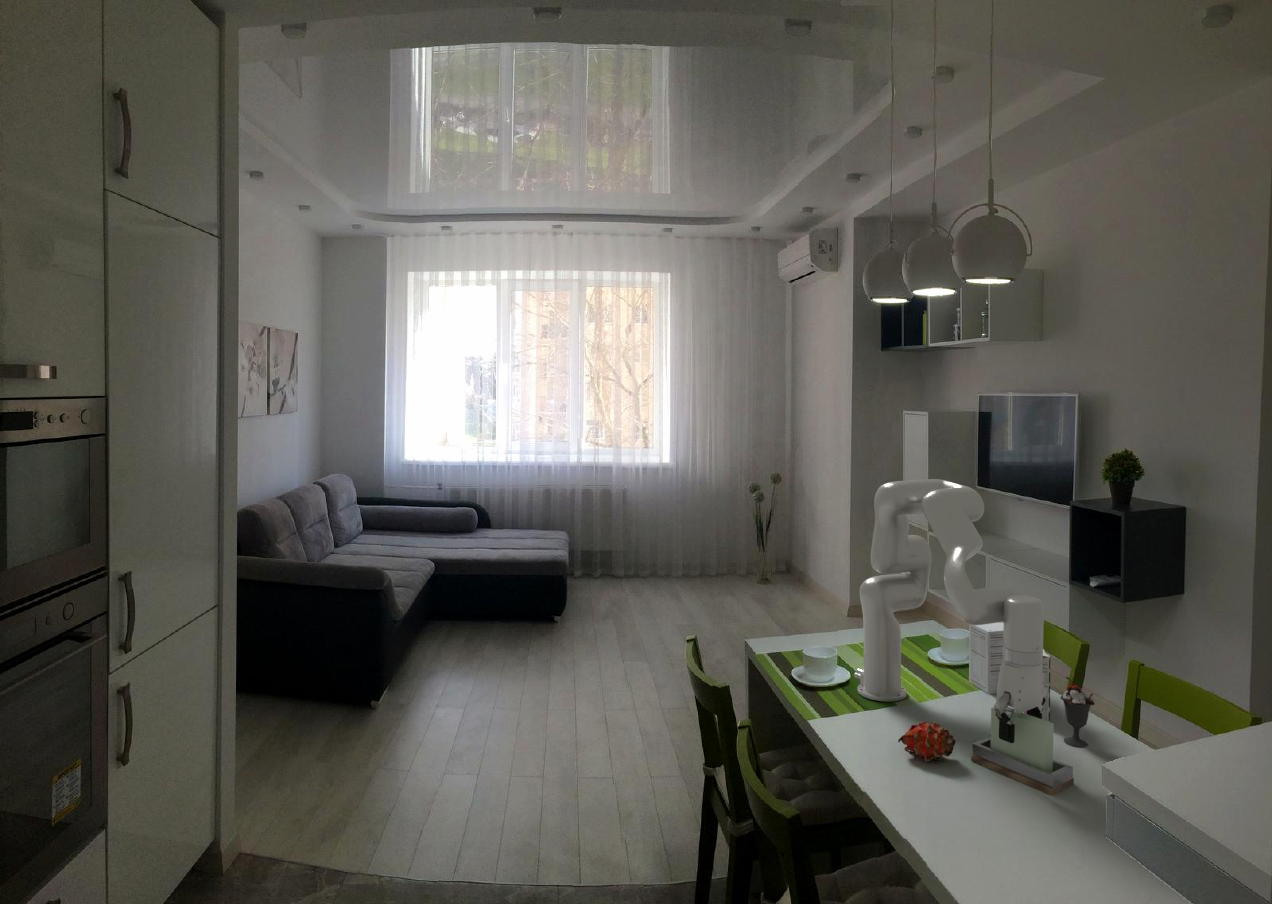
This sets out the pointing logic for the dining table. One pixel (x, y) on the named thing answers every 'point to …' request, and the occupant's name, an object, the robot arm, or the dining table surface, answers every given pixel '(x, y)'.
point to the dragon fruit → (928, 741)
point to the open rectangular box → (1023, 768)
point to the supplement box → (985, 655)
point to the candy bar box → (1046, 684)
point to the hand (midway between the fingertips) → (1020, 734)
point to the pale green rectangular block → (1026, 740)
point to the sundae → (1076, 712)
